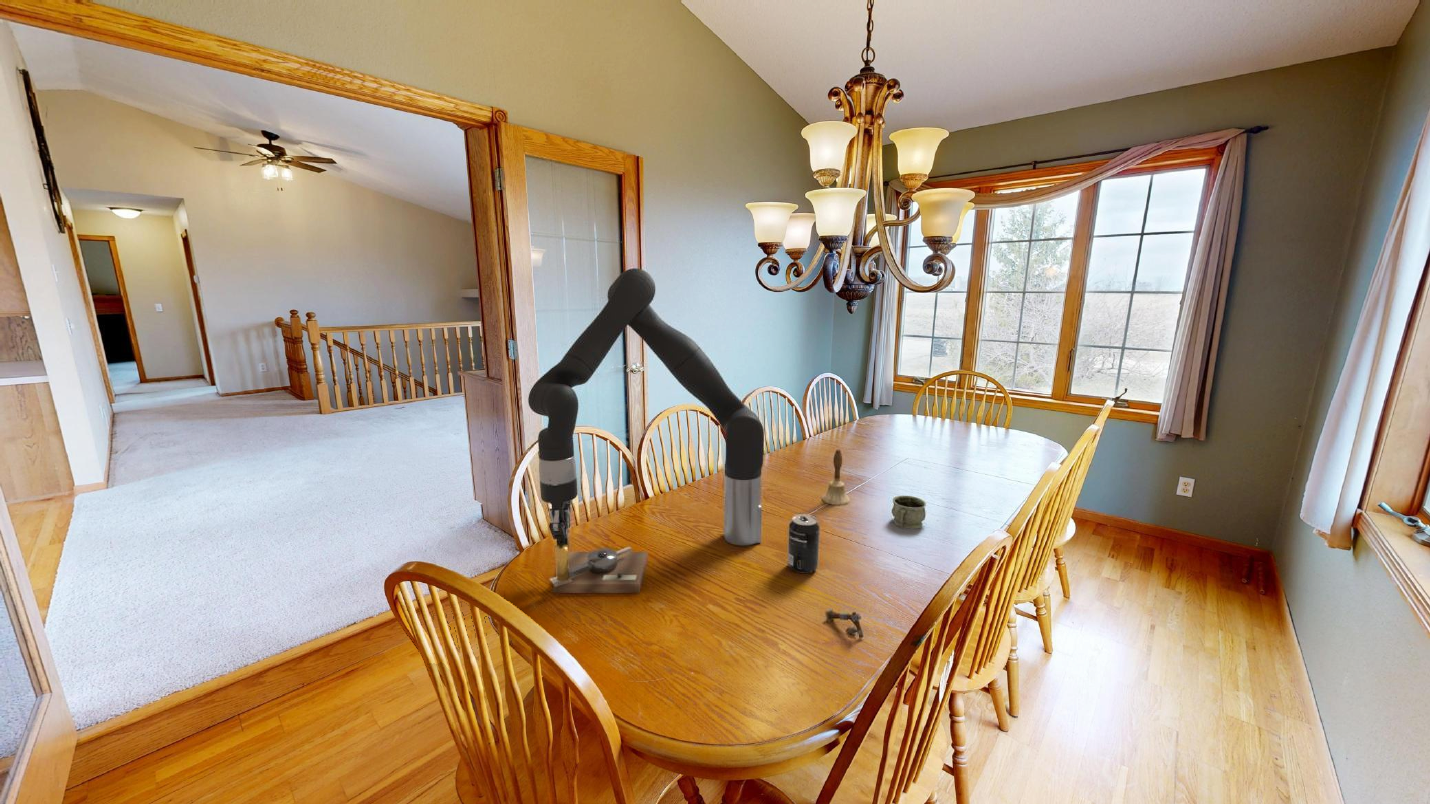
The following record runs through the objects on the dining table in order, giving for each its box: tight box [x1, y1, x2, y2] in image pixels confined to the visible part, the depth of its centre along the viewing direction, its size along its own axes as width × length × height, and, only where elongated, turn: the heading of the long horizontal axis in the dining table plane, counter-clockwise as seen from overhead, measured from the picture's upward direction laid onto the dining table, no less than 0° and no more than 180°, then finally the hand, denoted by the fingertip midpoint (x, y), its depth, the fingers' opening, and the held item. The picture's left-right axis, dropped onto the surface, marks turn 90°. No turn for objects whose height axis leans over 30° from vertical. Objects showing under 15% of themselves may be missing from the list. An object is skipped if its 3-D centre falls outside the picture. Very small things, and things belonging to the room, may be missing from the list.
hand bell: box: [821, 449, 851, 506], centre depth 157 cm, size 8×8×16 cm
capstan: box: [554, 544, 632, 581], centre depth 114 cm, size 18×6×8 cm, turn 134°
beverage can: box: [787, 513, 821, 574], centre depth 118 cm, size 7×7×12 cm
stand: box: [549, 551, 648, 594], centre depth 116 cm, size 19×15×3 cm
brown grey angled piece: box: [824, 608, 864, 639], centre depth 98 cm, size 2×8×4 cm, turn 36°
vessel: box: [891, 495, 927, 529], centre depth 143 cm, size 12×9×6 cm
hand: (563, 551), depth 114 cm, fingers closed
